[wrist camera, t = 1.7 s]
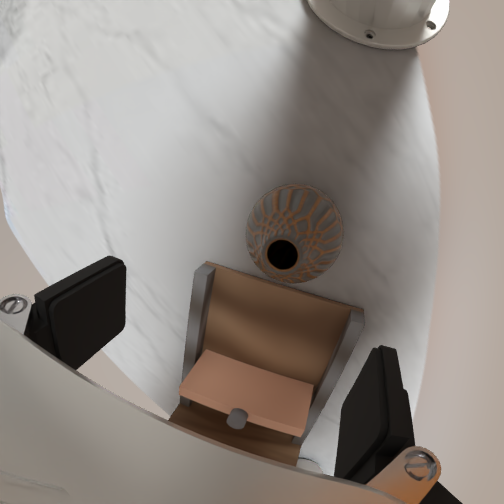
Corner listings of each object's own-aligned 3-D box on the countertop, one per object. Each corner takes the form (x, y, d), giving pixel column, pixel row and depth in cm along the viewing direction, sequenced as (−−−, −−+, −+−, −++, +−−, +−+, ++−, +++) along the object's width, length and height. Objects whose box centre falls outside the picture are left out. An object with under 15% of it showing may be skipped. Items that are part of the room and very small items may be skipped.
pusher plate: (206, 347, 32) (173, 392, 25) (314, 383, 30) (303, 438, 23) (204, 358, 32) (173, 403, 26) (309, 393, 30) (297, 448, 23)
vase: (278, 271, 28) (251, 321, 20) (248, 197, 26) (206, 219, 18) (354, 247, 25) (358, 292, 17) (325, 167, 24) (317, 175, 16)
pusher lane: (206, 261, 29) (166, 295, 22) (363, 309, 27) (366, 360, 20) (188, 395, 36) (160, 437, 29) (301, 435, 34) (289, 483, 27)
